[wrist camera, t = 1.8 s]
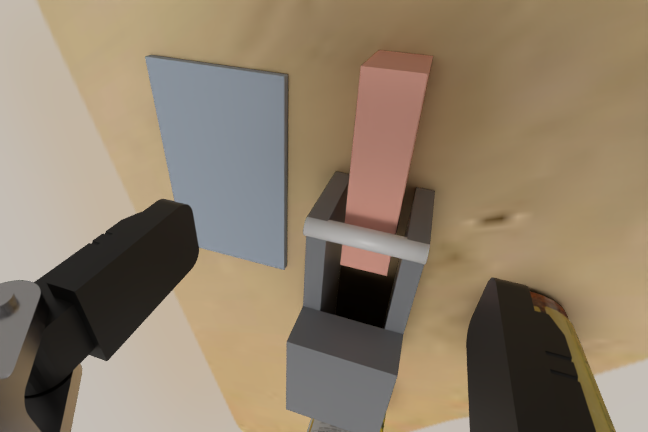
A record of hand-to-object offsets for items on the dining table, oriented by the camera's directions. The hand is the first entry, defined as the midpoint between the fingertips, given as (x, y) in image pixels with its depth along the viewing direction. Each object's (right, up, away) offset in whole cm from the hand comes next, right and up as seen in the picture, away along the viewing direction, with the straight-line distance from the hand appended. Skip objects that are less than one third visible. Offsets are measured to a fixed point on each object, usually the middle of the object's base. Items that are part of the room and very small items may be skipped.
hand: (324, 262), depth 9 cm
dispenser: (+4, -3, +19) cm, 20 cm away
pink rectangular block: (+4, +5, +14) cm, 15 cm away
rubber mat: (-8, +5, +18) cm, 20 cm away
